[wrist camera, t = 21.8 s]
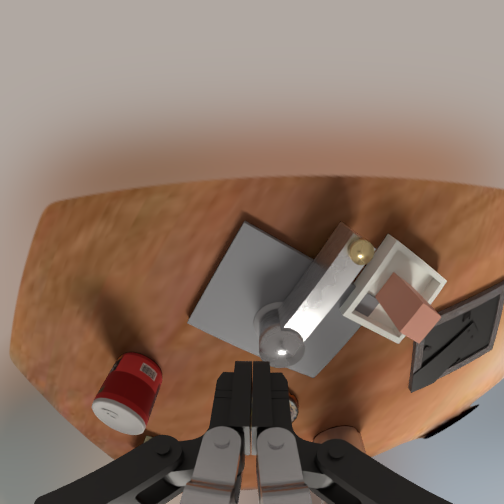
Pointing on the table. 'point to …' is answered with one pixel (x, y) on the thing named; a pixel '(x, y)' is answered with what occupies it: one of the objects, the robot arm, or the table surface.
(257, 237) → the crank plate
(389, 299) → the block
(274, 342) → the crank
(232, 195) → the table surface
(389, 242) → the tray
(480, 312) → the picture frame
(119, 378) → the canned food
